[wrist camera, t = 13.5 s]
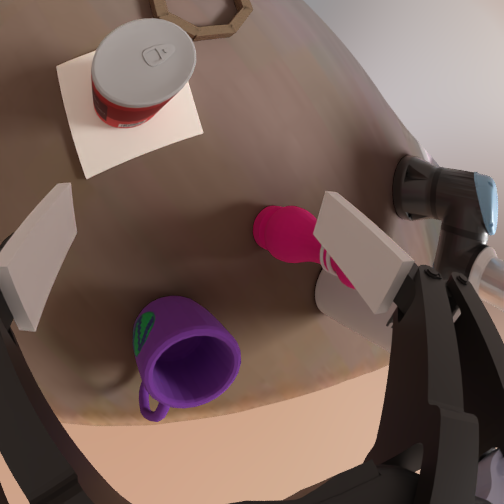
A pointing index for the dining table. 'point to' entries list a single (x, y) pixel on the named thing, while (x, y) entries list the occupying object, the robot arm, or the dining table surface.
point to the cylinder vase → (354, 310)
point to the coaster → (119, 139)
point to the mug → (182, 355)
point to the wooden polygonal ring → (204, 32)
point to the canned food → (140, 70)
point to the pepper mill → (293, 238)
